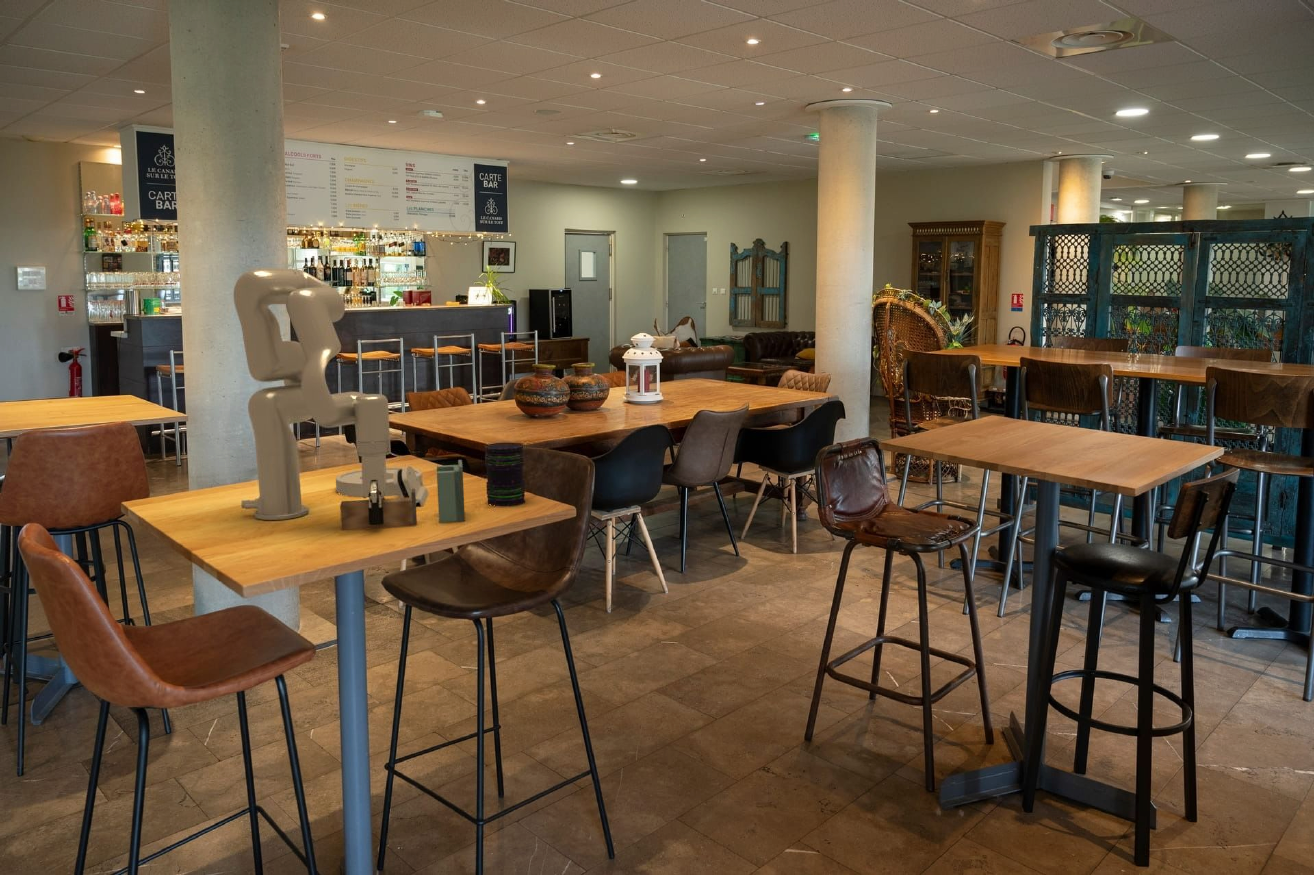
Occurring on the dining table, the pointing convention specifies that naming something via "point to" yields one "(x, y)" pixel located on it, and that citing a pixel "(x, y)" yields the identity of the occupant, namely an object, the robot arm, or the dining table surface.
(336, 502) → the dining table surface
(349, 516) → the brown wooden block
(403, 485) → the grey layered block
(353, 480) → the ashtray
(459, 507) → the u-shaped channel piece
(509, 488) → the storage jar
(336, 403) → the robot arm
